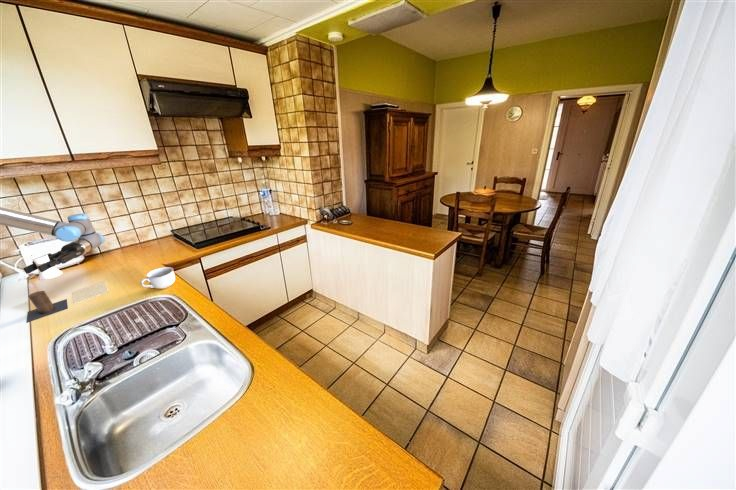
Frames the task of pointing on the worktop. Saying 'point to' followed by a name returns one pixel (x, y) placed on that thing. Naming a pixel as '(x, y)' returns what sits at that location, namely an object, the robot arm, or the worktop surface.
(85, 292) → the cream mat
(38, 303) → the pepper shaker
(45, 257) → the vase
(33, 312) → the slate mat
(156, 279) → the teacup
